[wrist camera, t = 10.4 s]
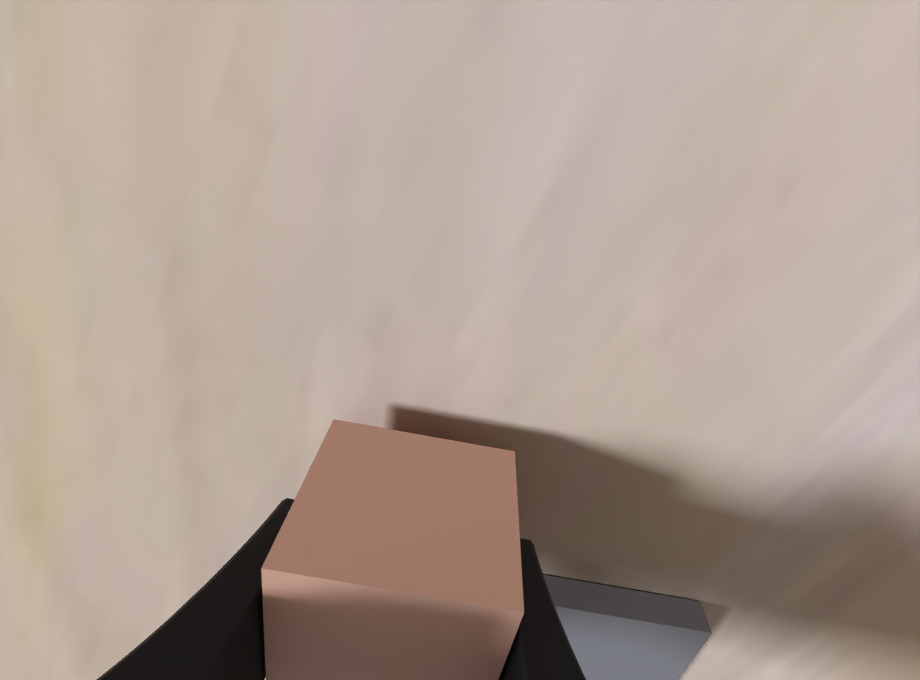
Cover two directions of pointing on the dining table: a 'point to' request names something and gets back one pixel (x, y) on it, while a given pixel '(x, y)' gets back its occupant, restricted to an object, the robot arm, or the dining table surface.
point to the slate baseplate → (628, 630)
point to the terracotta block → (396, 562)
